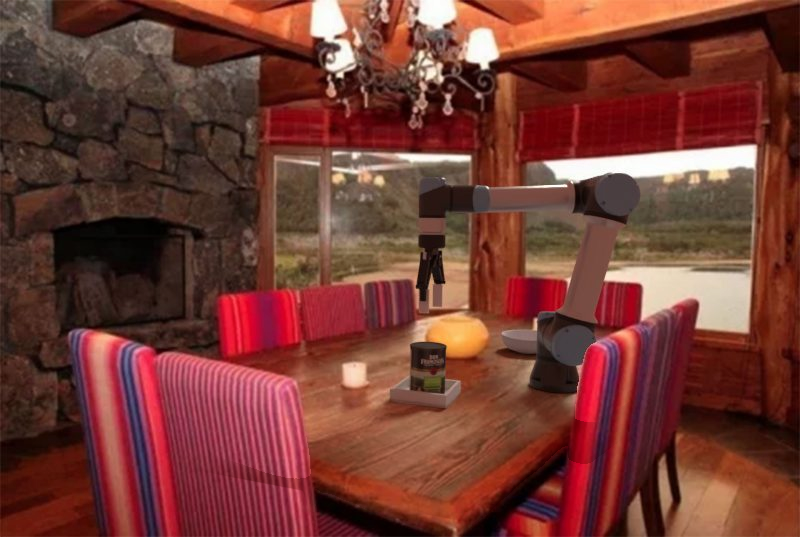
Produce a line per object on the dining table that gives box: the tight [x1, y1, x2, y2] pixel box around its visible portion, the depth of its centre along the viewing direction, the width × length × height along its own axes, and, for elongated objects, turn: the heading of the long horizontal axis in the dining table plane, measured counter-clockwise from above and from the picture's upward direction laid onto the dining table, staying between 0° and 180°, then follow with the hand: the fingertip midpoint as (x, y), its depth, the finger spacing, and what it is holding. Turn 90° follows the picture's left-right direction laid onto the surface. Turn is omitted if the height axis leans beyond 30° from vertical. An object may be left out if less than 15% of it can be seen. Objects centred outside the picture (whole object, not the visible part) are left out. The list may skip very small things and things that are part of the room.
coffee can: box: [409, 341, 448, 394], centre depth 164 cm, size 10×10×14 cm
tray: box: [389, 374, 462, 409], centre depth 164 cm, size 16×16×4 cm
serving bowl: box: [500, 329, 537, 355], centre depth 227 cm, size 21×21×7 cm
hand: (430, 309), depth 163 cm, fingers open, 13 cm apart
